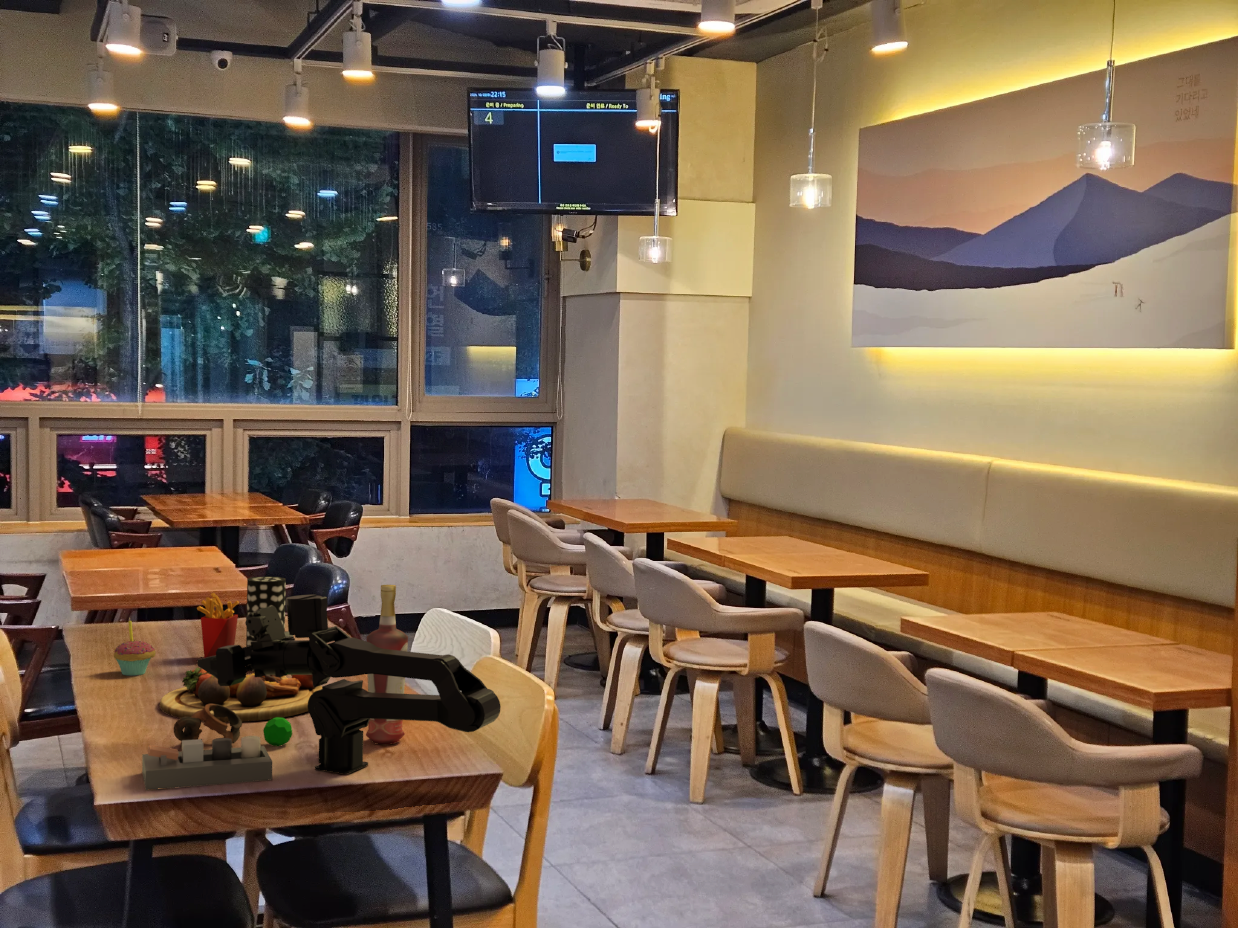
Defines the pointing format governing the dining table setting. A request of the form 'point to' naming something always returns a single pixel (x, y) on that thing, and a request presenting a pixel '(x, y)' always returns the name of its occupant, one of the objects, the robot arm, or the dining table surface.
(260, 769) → the panel
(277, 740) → the polyhedron
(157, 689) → the dining table surface
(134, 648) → the cupcake
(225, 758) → the black round button
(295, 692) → the wooden plate with food
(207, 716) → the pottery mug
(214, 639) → the french fries
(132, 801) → the dining table surface
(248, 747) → the white cylinder
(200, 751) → the grey square button
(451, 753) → the dining table surface
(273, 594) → the spotted tube
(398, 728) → the liquor
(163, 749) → the terracotta rocker
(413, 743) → the dining table surface
